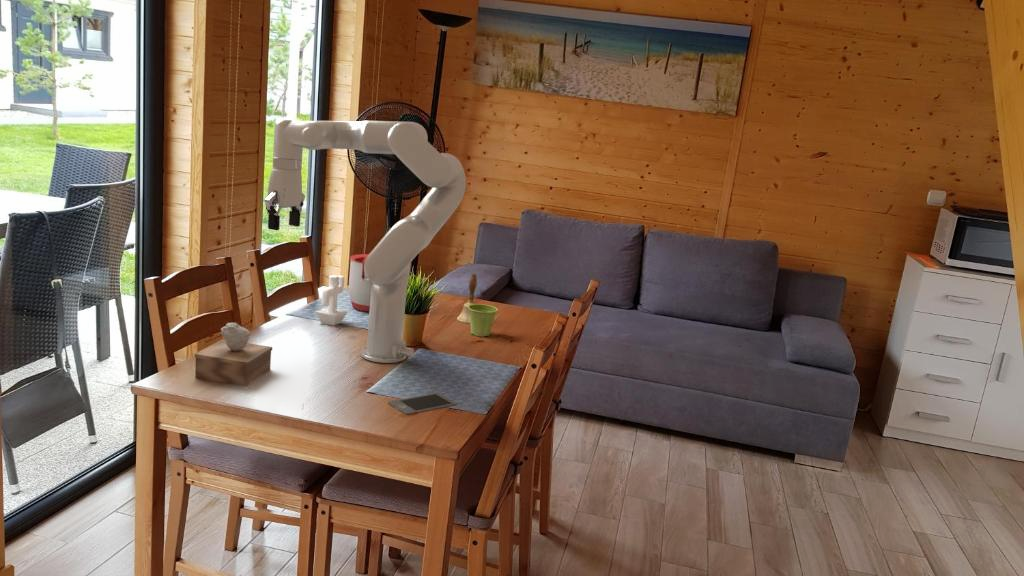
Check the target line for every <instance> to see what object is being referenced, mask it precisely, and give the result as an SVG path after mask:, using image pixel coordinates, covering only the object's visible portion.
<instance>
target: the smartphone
mask: <svg viewBox="0 0 1024 576" xmlns="http://www.w3.org/2000/svg"><path fill="white" fill-rule="evenodd" d="M387 405H390V406H391V407H393V408H394V409H396V410H398V411H399V412H401V413H402V414H404V415H412V414H413V415H414V414H418V413H423V412H427V411H432V410H438V409H442V408H447V407H452V406H453V407H454V406H456V405H457V402H455V401H453V400H451V399H450V398H448V397H447V396H445V395H443V394H441V393H439V392H433V393H432V392H431V393H427V394H422V395H415V396H410V397H406V398H401V399H396V400H388V402H387Z"/></svg>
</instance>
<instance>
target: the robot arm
mask: <svg viewBox="0 0 1024 576" xmlns="http://www.w3.org/2000/svg"><path fill="white" fill-rule="evenodd" d="M273 133H274V134H273V151H272V152H273V153H272V169H271V171H270V175H269V178H268V187H267V196H266V198H265V199H264V204H265V210H266V212H267V213H266V214H267V216H268V218H267V220H268V221H267V229H268V230H270V231H271V230H272V231H279V230H280V222H281V221H280V219H281V216H280V212H281V211H282V209H286V208H290V210H289V215H288V225H289V226H292V227H300V226H301V213H302V211H303V210H302V209H303V207H304V203H305V202H304V201H305V199H306V194H304V193H303V180H302V179H303V178H302V169H303V168H302V165H303V151H304V149H305V150H311V151H312V150H313V151H314V150H315V151H316V150H326V149H327V150H328V149H329V150H331V149H333V150H334V149H335V150H336V149H337V150H356V151H360V152H362V153H365V154H378V155H379V154H381V155H384V154H385V155H395V157H397V158H398V159H399V160H400V161H401V162H402V164H403V165H405V166H406V167H407V169H409V170H410V171H411V172H412V173H413V174H414V175H415V176H416V177H417V178H418V179H419V180H420V181H421V182H422V183H423V184H424V185H426V186H428V187H430V190H429V192H428V193H427V194H426V195H425V196H424V197H423V198H422V200H421V201H420V202H419V204H418V205H417V206H416V207H415V208H414V210H412V212H411V213H410V214H409V215H407V216H406V217H404V218H402V219H400V220H398V221H397V222H396V223H394V224H393V226H392V227H390V229H389V230H388V231H387V232H386V233H385V235H384V236H383V237H382V238H381V239H380V241H379V242H377V244H376V245H375V246H374V248H373V249H372V250H371V251H370V252H371V253H370V252H369V253H370V254H369V253H368V254H369V255H368V257H367V258H366V260H365V263H364V272H365V275H366V277H367V279H368V280H369V281H370V282H371V283H372V290H371V300H370V311H368V313H369V314H368V315H369V316H368V328H367V341H366V342H367V343H366V346H365V347H362V349H360V356H361V357H362V359H364V360H367V361H371V362H375V363H381V364H382V363H383V364H393V363H395V364H396V363H399V362H402V361H404V360H406V359H407V357H408V358H413V357H414V355H415V351H414V348H412V347H407V346H406V340H405V341H403V334H404V323H405V322H404V321H405V310H406V304H407V303H406V300H407V292H408V291H407V290H408V283H409V277H410V273H411V265H412V264H411V262H412V261H413V260H414V259H415V258H416V257H417V255H418V254H420V252H421V251H423V250H424V249H426V248H427V247H428V246H429V245H430V243H431V241H432V240H433V238H435V235H436V234H437V233H438V232H439V231H440V230H441V229H442V227H443V226H444V225H445V223H447V221H448V220H450V217H451V216H452V215H453V213H455V212H456V210H457V209H458V207H459V205H460V204H461V202H462V200H463V197H464V195H465V192H466V188H467V187H466V186H467V185H466V184H467V177H466V174H465V173H466V172H465V169H464V167H463V164H462V163H461V161H460V160H459V159H458V158H457V157H456V156H455V155H453V154H452V153H451V154H450V153H448V152H447V153H446V152H441V153H440V152H439V151H438V150H437V148H435V147H434V146H433V145H432V144H431V143H430V142H429V141H428V139H429V138H428V132H427V130H426V128H424V126H423V125H421V124H420V123H418V122H414V121H398V120H397V121H392V120H389V121H387V120H370V119H369V120H361V121H342V120H339V121H338V120H303V121H302V120H300V119H298V118H292V117H291V118H290V117H278V118H277V119H275V120H274V132H273Z"/></svg>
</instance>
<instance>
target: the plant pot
mask: <svg viewBox="0 0 1024 576" xmlns="http://www.w3.org/2000/svg"><path fill="white" fill-rule="evenodd" d="M468 309H469V313H470V323H469V324H470V325H469V326H470V334H472V335H474V336H475V337H481V338H482V337H483V338H484V337H486V336H487V337H488V336H489V337H490V334H491V331H492V327H493V323H494V320H495V316H496V315H497V312H498V311H499V309H498V308H497V307H496V306H494V305H491V304H490V305H489V304H481V303H474V304H472V305H469V306H468Z"/></svg>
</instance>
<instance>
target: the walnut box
mask: <svg viewBox="0 0 1024 576" xmlns="http://www.w3.org/2000/svg"><path fill="white" fill-rule="evenodd" d="M272 351H273V347H272V346H269V345H261V344H256V343H248V342H247V345H246V346H245V348H243V349H242V350H240V351H233V350H231V349H229V348H228V346H227V344H226V339H224V338H222V339H220V340H218V341H216V342H214V343H212V344H210V345H209V346H207V347H205V348H203V349H201V350H200V351H197V352H195V353H194V358H195V370H194V371H195V373H194V375H195V376H194V378H196V379H201V380H207V381H213V382H219V383H226V384H230V385H231V384H232V385H237V386H245V387H247V386H249V385H250V384H251V383H253V382H254V381H256V380H257V379H259V378H260V377H262V376H263V375H265V374H266V373H268V372H270V371H271V360H272Z"/></svg>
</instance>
